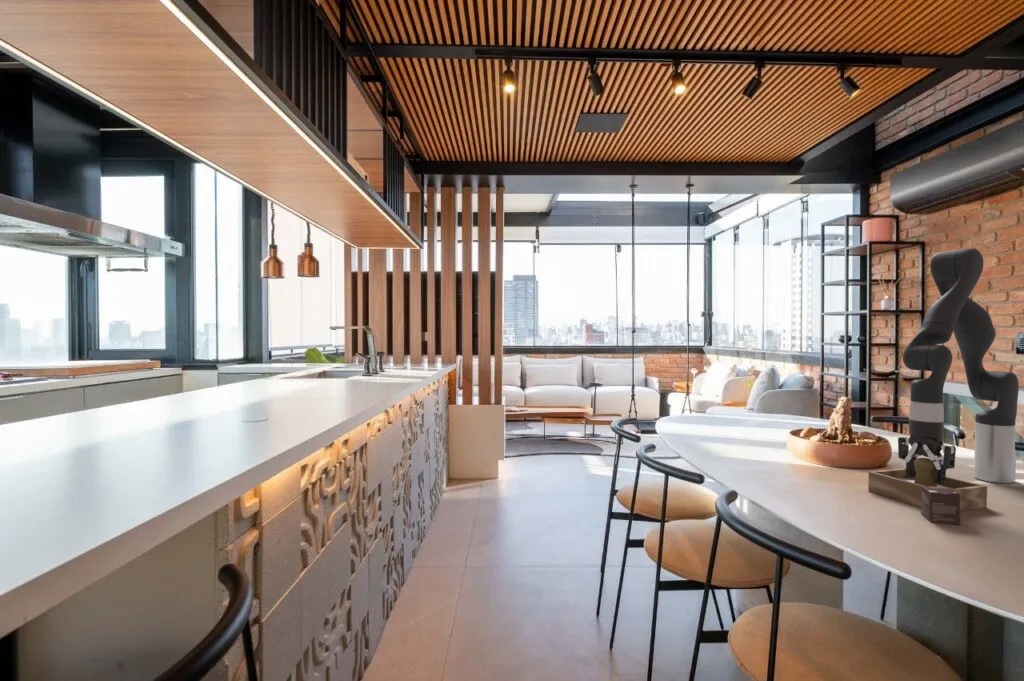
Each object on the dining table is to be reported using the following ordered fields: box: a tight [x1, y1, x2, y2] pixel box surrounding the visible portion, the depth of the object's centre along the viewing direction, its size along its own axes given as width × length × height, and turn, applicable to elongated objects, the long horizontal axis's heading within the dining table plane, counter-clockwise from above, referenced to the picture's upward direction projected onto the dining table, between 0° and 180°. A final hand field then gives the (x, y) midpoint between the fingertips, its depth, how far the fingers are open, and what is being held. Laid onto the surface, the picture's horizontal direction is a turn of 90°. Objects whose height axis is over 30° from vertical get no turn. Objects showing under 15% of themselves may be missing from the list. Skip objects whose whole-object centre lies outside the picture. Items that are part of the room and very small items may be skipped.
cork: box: [914, 457, 937, 487], centre depth 149 cm, size 6×6×11 cm
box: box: [920, 486, 961, 525], centre depth 133 cm, size 6×6×7 cm
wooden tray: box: [867, 467, 988, 512], centre depth 149 cm, size 16×20×6 cm
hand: (925, 479), depth 149 cm, fingers open, 7 cm apart
